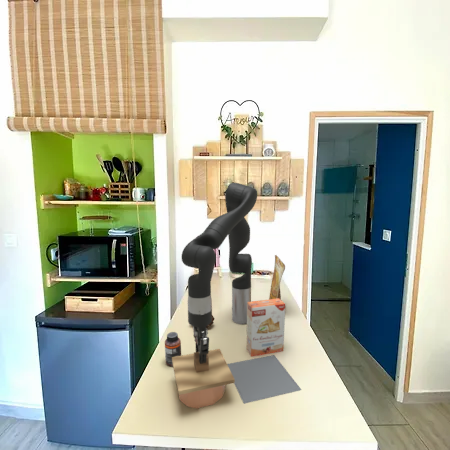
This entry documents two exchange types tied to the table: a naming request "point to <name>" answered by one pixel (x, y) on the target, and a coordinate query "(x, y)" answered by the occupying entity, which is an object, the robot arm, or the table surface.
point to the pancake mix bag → (277, 279)
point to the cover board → (201, 372)
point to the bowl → (202, 397)
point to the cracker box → (265, 326)
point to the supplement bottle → (172, 347)
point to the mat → (261, 378)
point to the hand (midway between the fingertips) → (201, 357)
